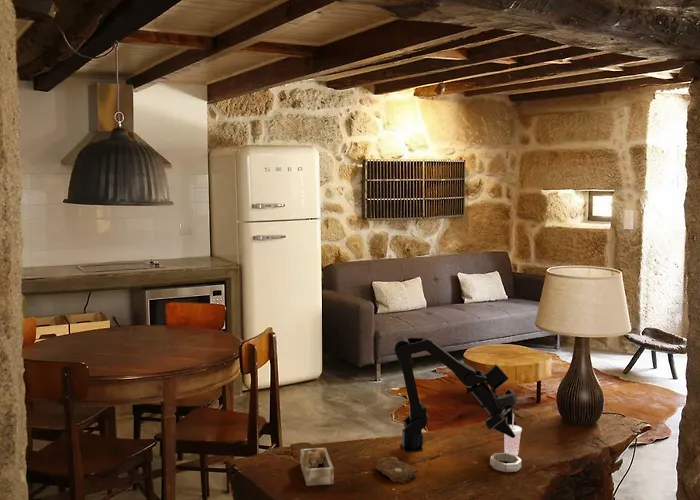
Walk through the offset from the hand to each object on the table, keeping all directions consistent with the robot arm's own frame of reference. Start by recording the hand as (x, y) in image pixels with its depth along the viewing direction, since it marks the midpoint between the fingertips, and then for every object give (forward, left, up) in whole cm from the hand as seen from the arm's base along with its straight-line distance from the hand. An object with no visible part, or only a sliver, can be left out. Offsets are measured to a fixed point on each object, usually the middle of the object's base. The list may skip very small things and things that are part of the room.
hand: (516, 434), depth 242 cm
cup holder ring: (-6, -6, -8) cm, 12 cm away
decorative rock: (-45, -7, -9) cm, 46 cm away
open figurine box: (-69, -3, -8) cm, 70 cm away
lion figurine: (-70, -3, -8) cm, 70 cm away
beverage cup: (-1, +1, -7) cm, 7 cm away
